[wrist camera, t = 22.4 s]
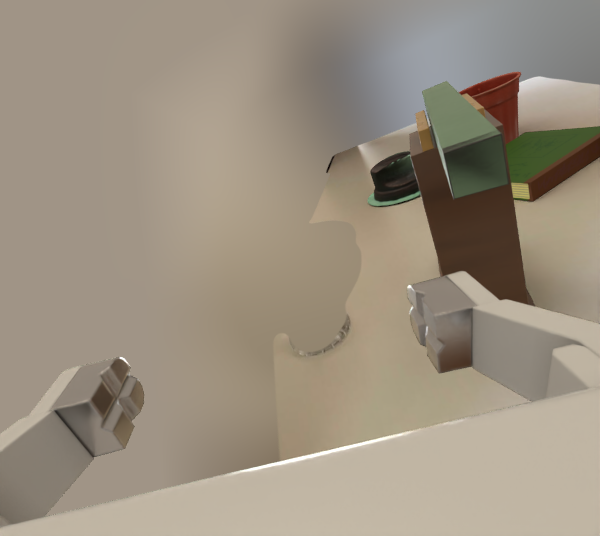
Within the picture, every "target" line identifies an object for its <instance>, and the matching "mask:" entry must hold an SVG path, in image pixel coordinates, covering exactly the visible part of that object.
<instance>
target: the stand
mask: <svg viewBox="0 0 600 536" xmlns="http://www.w3.org/2000/svg"><path fill="white" fill-rule="evenodd" d="M462 96H463V97H464V98H465V99H466V100H467V101H468V102H469V103H470V104H471V105H472V106H473V107H474V108H475V109H476V110H477V111H479V112H480V113H481V114H482V115H483V116H484V117H485V118H486V119H487V120H488V121H489V122H490V123H491V124H492V125H493V126H494V127H495V128H496V129H497V130H499V131H500V132H501V133H502V136H503V143H504V150H505V157H506V164H507V171H508V178H509V184H508V185H504V186H500V187H497V188H493V189H490V190H486V191H483V192H479V193H475V194H472V195H468V196H465V197H461V198H457V199H453V196H452V193H451V189H450V186H449V183H448V180H447V176H446V173H445V170H444V167H443V163H442V160H441V157H440V154H439V150H438V147H437V144H436V141H435V137H434V134H433V131H432V128H431V126H430V127H429V126H428V122H427V119H426V115H425V112H424V110H423V111H421V112H418V113H416V121H417V128H418V131H416V132H414V133H411V134H409V135H410V156H411V160H412V164H413V168H414V171H415V175H416V179H417V183H418V186H419V190H420V194H421V197H422V201H423V205H424V208H425V212H426V216H427V219H428V223H429V227H430V230H431V234H432V238H433V242H434V245H435V249H436V253H437V256H438V263H439V270H440V276H441V277H442V276H445V275H448V274H452V273H455V272H459V271H465V272H467V273H468V274H469V275H470V276H471V277H473V278H474V279H475V280H476V281H477V282H479V283H480V284H481V285H482V286H483V287H485V288H486V289H487V290H488V291H489V292H491V293H492V294H493V295H494V296H495V297H497V298H498V299H499V300H500V301H501V300H505V299H508V300H511V301H515V302H519V303H523V304H527V305H531V306H535V305H534V303H533V301H532V299H531V297H530V295H529V293H528V291H527V289H526V284H525V277H524V270H523V263H522V256H521V249H520V242H519V235H518V228H517V221H516V214H515V207H514V200H513V192H512V185H511V178H510V171H509V164H508V157H507V150H506V143H505V136H504V129H503V124H501V123H500V122H499V121H498V120H497V119H495V118H494V117H493V116H492V115H491V114H490V113H488V112H487V111H486V110H485V109H484V107H483V106H481V105H480V104H479V103H478V102H477V101H475V100H474V99H473V98H472V97H471V96H469V95H468V94H467V93H466V94H464V95H462Z"/></svg>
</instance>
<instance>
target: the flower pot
mask: <svg viewBox="0 0 600 536" xmlns="http://www.w3.org/2000/svg"><path fill="white" fill-rule="evenodd" d="M520 75H521V73H520V72H512V73H508V74H504V75H501V76H498V77H495V78H492V79H489V80H486V81H483V82H481V83H478V84H476V85H473V86H471V87H469V88H467V89H465V90H462V91H461V92H459V93H460V94H461V95H464V94H466V93H467V94H468V95H469V96H471V97H472V98H473V99H474V100H475V101H477V102H478V103H479V104H480V105H481V106H483V107H484V109H485V110H486V111H487V112H488V113H490V114H491V115H492V116H493V117H494V118H495V119H497V120H498V121H499V122H500V123H501V124H503V129H504V136H505V143H506V144H507V143H509V142H511V141H512V140H514V139H516V138H517V137H518V92H519V77H520Z"/></svg>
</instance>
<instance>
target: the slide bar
mask: <svg viewBox="0 0 600 536" xmlns="http://www.w3.org/2000/svg"><path fill="white" fill-rule="evenodd" d="M422 93H423V97H424V102H425V106H426V111H427V114H428V118H429V121H430V124H431V128H432V131H433V134H434V137H435V141H436V144H437V147H438V150H439V154H440V157H441V160H442V163H443V167H444V170H445V173H446V176H447V180H448V183H449V186H450V189H451V193H452V196H453V199H457V198H461V197H465V196H468V195H472V194H475V193H479V192H483V191H486V190H490V189H493V188H497V187H500V186H504V185H508V184H509V178H508V171H507V164H506V157H505V150H504V143H503V136H502V133H501V132H500V131H499V130H497V129H496V128H495V127H494V126H493V125H492V124H491V123H490V122H489V121H488V120H487V119H486V118H485V117H484V116H483V115H482V114H481V113H480V112H479V111H477V110H476V109H475V108H474V107H473V106H472V105H471V104H470V103H469V102H468V101H467V100H466V99H465V98H464V97H463V96H462V95H461V94H460V93H459V92H457V91H456V90H455V89H454V88H453V87H452V86H451V85H450V84H449V83H448V82H447V81H446V82H443V83H441V84H438V85H436V86H434V87H431V88H429V89H426V90H424V91H422Z"/></svg>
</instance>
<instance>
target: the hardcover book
mask: <svg viewBox="0 0 600 536" xmlns="http://www.w3.org/2000/svg"><path fill="white" fill-rule="evenodd" d="M506 150H507V157H508V164H509V171H510V178H511V185H512V192H513V199H514V200H524V201H534V200H536V199H537V198H539V197H540V196H542V195H543V194H545V193H546V192H547V191H549V190H550V189H552V188H553V187H555V186H556V185H558V184H559V183H561V182H562V181H564V180H565V179H567V178H568V177H570V176H571V175H573V174H574V173H576V172H577V171H579V170H580V169H582V168H583V167H585V166H586V165H588V164H589V163H591V162H592V161H594V160H595V159H597V158H598V157H600V126H599V127H587V128H574V129H562V130H550V131H538V132H526V133H524V134H522V135H520V136H519V137H517V138H516V139H514V140H512V141H511V142H509V143H507V144H506Z"/></svg>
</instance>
